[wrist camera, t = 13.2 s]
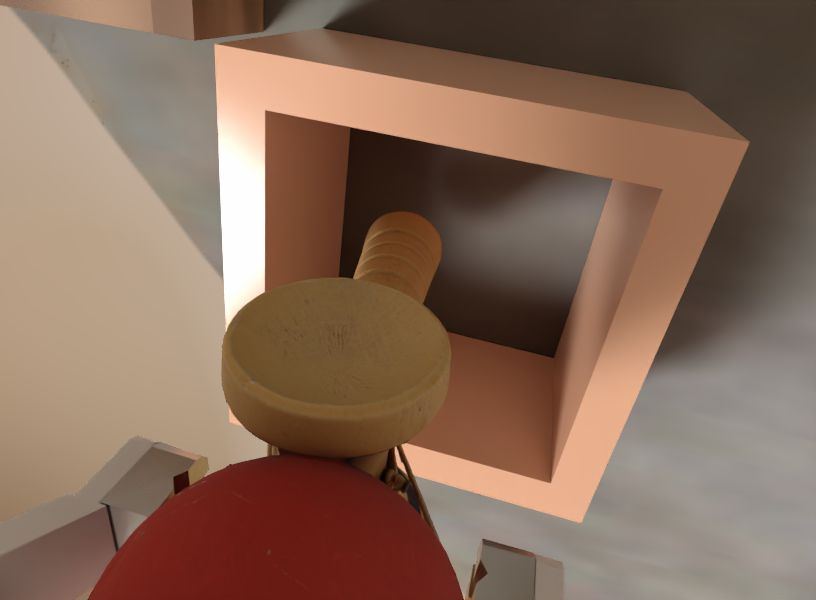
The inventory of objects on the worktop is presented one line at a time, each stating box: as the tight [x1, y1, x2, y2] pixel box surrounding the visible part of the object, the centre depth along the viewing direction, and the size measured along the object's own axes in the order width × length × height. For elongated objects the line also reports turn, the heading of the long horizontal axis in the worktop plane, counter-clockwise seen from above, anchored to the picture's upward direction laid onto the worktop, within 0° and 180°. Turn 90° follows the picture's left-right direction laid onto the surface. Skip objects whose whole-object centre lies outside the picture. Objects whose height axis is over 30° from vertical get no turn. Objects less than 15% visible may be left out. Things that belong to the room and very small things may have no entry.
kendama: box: [88, 211, 464, 600], centre depth 14 cm, size 8×6×18 cm
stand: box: [215, 28, 750, 523], centre depth 21 cm, size 14×14×8 cm
